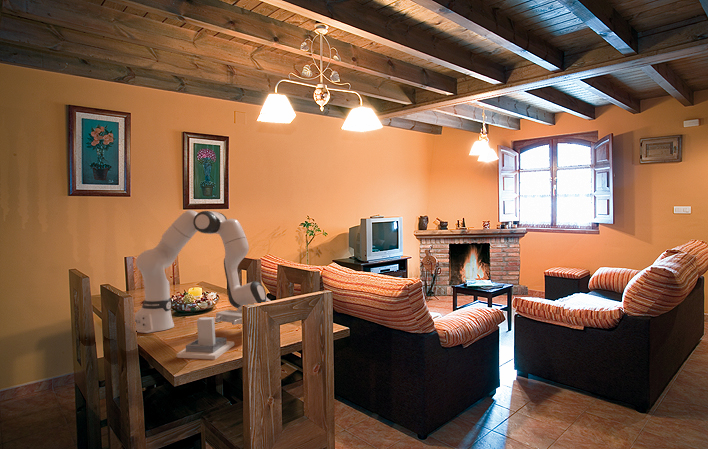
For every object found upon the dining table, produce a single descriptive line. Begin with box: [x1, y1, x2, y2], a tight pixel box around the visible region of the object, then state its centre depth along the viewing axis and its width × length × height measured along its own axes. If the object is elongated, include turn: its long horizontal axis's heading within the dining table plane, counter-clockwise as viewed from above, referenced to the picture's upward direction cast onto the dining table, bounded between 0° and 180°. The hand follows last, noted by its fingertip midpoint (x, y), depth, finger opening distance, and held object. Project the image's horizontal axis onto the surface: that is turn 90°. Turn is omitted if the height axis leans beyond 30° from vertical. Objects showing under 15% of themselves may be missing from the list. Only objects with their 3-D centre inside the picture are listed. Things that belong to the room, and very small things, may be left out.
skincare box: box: [196, 316, 216, 346], centre depth 173 cm, size 6×4×12 cm
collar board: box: [176, 340, 235, 360], centre depth 173 cm, size 16×17×2 cm
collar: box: [185, 336, 227, 353], centre depth 173 cm, size 12×12×2 cm
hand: (224, 321), depth 182 cm, fingers open, 8 cm apart
